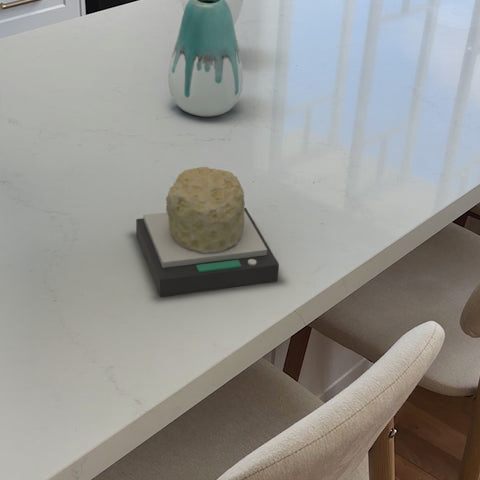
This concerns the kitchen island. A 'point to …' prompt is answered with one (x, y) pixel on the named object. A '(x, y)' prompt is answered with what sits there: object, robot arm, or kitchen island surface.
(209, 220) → the beige textured cylinder
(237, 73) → the vase
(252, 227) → the scale
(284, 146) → the kitchen island surface
